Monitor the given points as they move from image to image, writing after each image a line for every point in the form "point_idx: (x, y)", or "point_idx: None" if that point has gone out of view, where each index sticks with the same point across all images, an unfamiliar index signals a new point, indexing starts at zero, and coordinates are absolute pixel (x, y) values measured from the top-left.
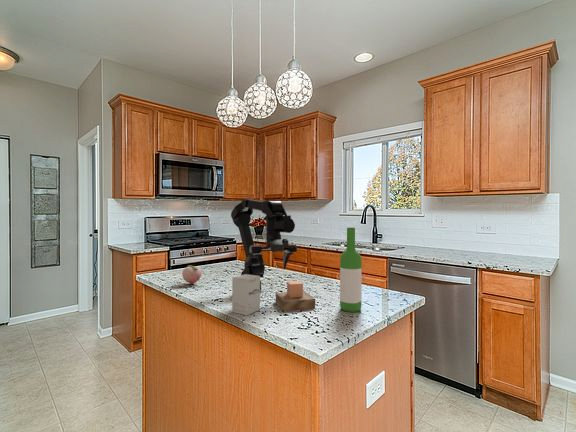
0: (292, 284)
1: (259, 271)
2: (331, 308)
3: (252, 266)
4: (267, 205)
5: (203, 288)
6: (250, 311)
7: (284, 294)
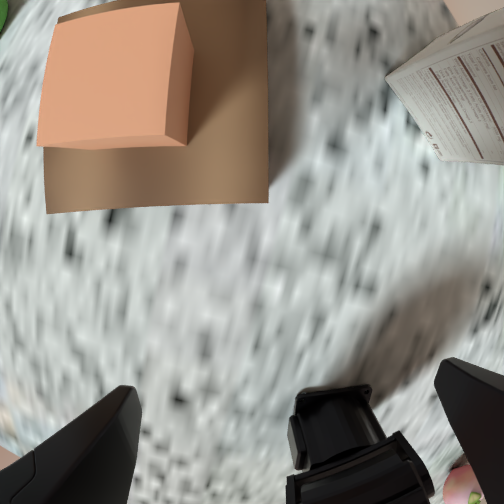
0: (153, 6)
1: (341, 483)
2: (24, 37)
3: (421, 487)
4: None
5: (455, 441)
6: (432, 42)
7: (209, 141)
